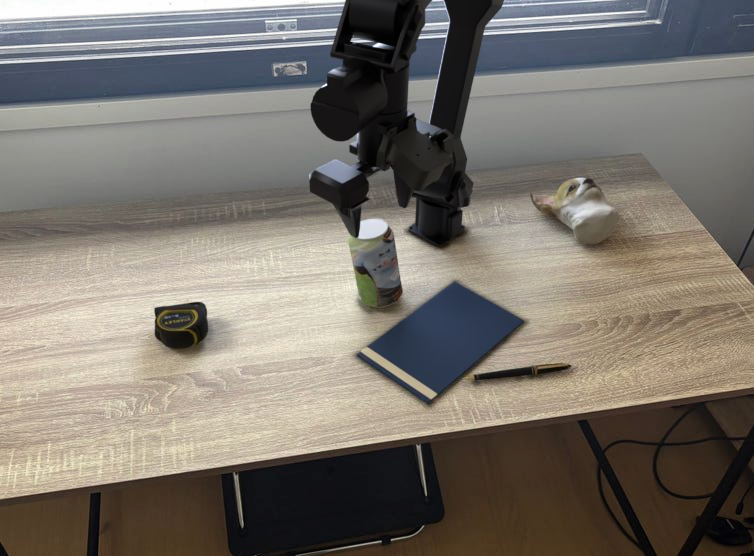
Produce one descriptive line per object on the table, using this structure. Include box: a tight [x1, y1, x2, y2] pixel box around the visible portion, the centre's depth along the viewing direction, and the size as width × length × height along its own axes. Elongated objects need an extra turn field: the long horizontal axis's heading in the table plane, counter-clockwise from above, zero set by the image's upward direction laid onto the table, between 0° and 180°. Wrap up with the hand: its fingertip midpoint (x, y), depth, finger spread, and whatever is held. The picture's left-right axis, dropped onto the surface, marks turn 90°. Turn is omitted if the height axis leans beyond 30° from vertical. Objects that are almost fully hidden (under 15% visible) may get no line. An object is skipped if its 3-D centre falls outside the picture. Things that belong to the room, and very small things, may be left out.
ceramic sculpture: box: [529, 177, 620, 245], centre depth 111 cm, size 11×9×15 cm
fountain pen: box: [462, 362, 573, 381], centre depth 91 cm, size 14×1×2 cm, turn 99°
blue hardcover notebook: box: [356, 281, 525, 405], centre depth 96 cm, size 12×20×1 cm, turn 136°
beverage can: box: [347, 217, 403, 309], centre depth 98 cm, size 6×7×12 cm
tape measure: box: [153, 301, 209, 350], centre depth 95 cm, size 7×7×4 cm
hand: (379, 221), depth 92 cm, fingers open, 9 cm apart
